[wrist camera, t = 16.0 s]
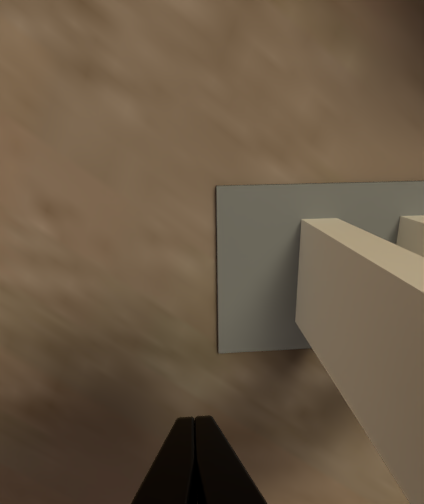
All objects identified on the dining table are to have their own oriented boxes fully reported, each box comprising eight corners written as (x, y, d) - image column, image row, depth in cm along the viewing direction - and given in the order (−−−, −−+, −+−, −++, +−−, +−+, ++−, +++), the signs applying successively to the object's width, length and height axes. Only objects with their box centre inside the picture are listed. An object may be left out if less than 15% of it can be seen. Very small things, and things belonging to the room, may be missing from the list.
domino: (336, 217, 15) (599, 336, 5) (327, 320, 16) (522, 555, 7) (301, 219, 15) (505, 341, 5) (295, 321, 16) (447, 562, 7)
